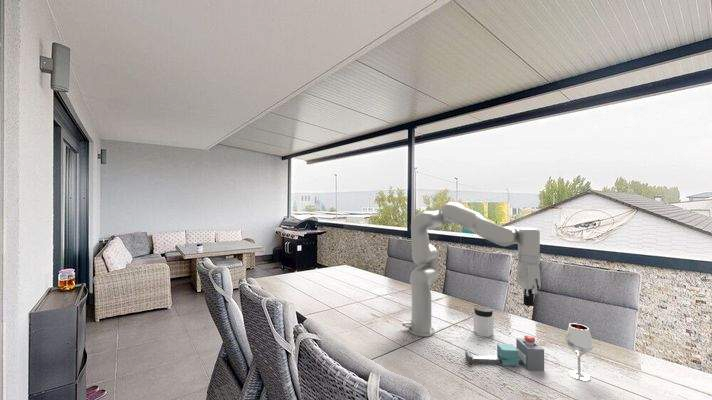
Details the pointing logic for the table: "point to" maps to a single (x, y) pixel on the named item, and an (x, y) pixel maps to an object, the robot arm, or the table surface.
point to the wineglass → (579, 346)
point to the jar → (483, 321)
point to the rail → (485, 359)
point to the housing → (530, 355)
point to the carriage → (508, 354)
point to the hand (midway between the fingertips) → (528, 305)
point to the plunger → (529, 340)
